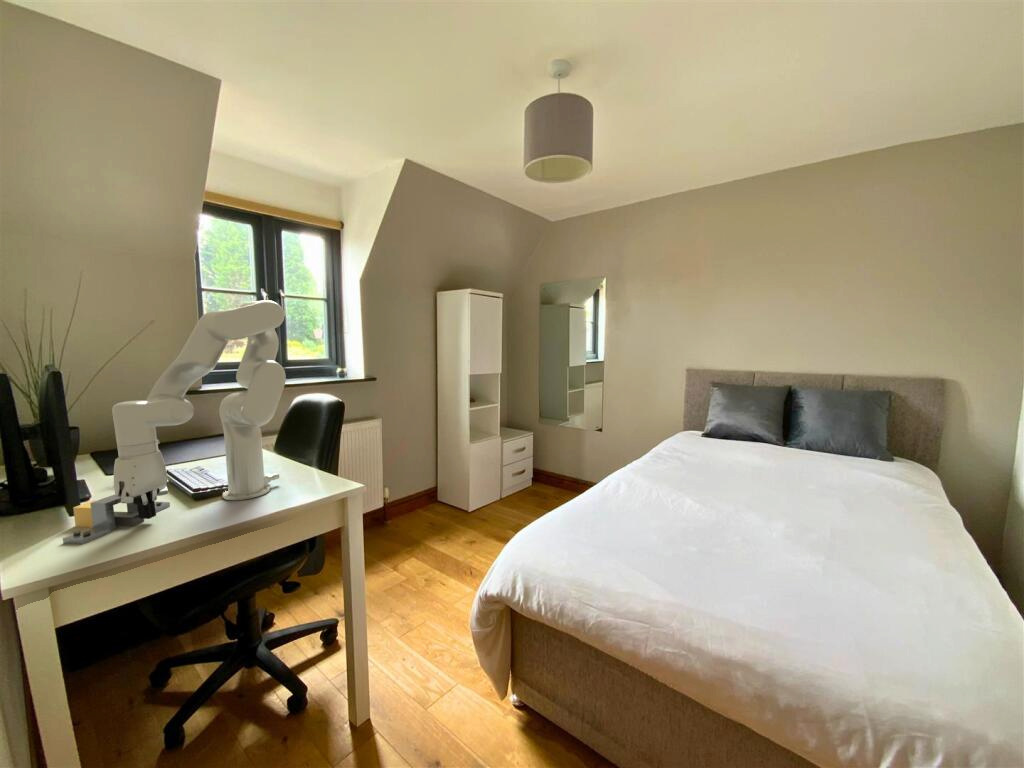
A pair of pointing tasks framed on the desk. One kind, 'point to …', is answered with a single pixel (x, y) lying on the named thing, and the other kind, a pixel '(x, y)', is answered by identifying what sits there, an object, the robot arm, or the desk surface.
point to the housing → (104, 519)
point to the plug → (121, 518)
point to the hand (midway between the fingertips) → (147, 517)
